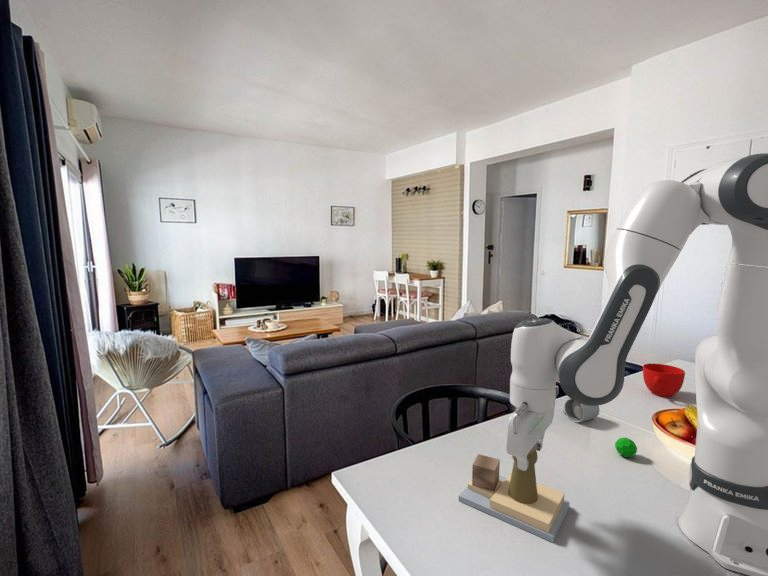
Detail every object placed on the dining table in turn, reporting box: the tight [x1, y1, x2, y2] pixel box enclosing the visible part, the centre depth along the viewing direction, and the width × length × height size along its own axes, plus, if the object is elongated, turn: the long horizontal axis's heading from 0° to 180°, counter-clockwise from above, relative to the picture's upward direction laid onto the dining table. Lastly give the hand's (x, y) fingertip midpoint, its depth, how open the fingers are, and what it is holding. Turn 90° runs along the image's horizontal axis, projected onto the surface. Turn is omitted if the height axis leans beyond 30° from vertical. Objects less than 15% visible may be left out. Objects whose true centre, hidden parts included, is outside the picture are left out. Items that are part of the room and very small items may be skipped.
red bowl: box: [642, 363, 686, 398], centre depth 146 cm, size 13×17×10 cm
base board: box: [458, 473, 570, 543], centre depth 86 cm, size 20×13×3 cm, turn 52°
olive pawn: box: [508, 447, 538, 504], centre depth 83 cm, size 6×6×11 cm
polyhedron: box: [614, 437, 638, 458], centre depth 105 cm, size 5×5×5 cm
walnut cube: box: [471, 453, 501, 492], centre depth 89 cm, size 5×5×5 cm
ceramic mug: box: [561, 397, 600, 424], centre depth 128 cm, size 11×8×8 cm
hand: (530, 458), depth 83 cm, fingers open, 8 cm apart
